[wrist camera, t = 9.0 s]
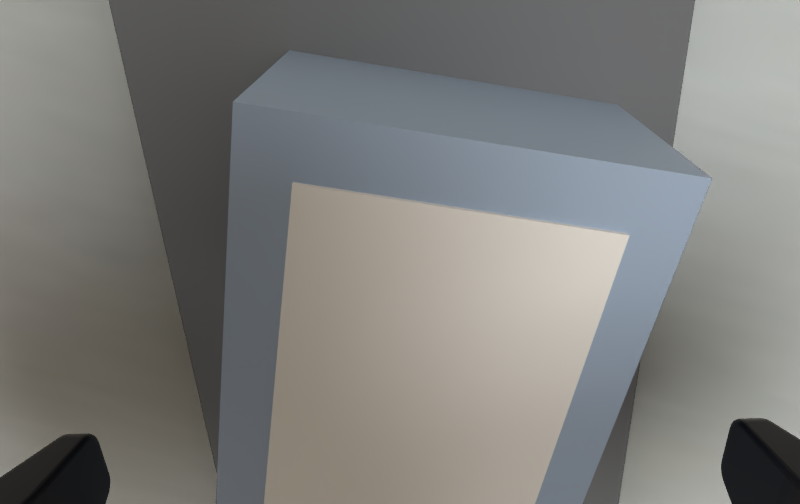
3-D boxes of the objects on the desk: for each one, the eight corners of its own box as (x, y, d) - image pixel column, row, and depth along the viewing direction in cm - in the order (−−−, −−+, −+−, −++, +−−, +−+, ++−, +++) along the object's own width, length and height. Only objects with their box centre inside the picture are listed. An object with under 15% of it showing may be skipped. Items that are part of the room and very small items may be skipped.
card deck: (618, 104, 12) (713, 179, 8) (504, 467, 15) (533, 630, 12) (289, 50, 11) (231, 103, 8) (259, 436, 15) (211, 593, 11)
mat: (605, 531, 17) (611, 550, 17) (241, 537, 18) (235, 556, 17) (704, -167, 10) (721, -173, 10) (93, -135, 10) (76, -140, 10)
